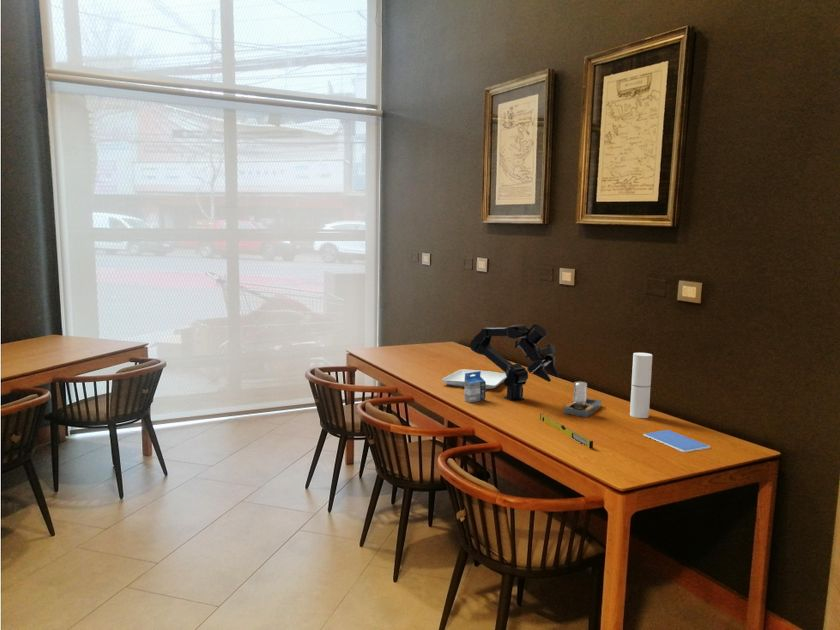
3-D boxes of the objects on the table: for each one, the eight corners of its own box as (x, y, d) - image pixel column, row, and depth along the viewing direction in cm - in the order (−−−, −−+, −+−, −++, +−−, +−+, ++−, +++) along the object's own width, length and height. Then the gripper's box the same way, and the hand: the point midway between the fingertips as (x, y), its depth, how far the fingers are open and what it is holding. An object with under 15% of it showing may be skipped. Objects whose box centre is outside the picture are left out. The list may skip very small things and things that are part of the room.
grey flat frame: (586, 417, 245) (587, 410, 245) (563, 413, 250) (563, 407, 250) (601, 406, 262) (601, 399, 262) (579, 402, 267) (579, 396, 267)
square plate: (512, 380, 308) (512, 373, 307) (495, 393, 283) (495, 384, 282) (460, 375, 319) (461, 367, 318) (440, 386, 294) (440, 378, 294)
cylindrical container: (636, 418, 244) (640, 356, 241) (626, 413, 251) (629, 352, 248) (652, 417, 246) (656, 355, 243) (641, 412, 253) (645, 352, 250)
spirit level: (539, 421, 241) (540, 413, 240) (542, 421, 241) (543, 413, 241) (589, 449, 209) (589, 441, 209) (592, 449, 210) (593, 440, 209)
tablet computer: (711, 449, 212) (711, 445, 211) (684, 454, 206) (684, 450, 206) (668, 432, 229) (668, 429, 229) (641, 437, 224) (642, 433, 224)
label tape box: (469, 403, 264) (470, 374, 263) (463, 401, 268) (464, 373, 266) (485, 400, 269) (486, 372, 268) (479, 398, 273) (480, 370, 271)
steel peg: (579, 414, 249) (580, 385, 247) (570, 411, 253) (571, 382, 251) (588, 412, 251) (589, 383, 249) (579, 409, 255) (580, 381, 254)
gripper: (535, 341, 252) (560, 371, 248) (552, 335, 267) (575, 363, 263) (516, 357, 257) (540, 387, 253) (534, 350, 273) (556, 379, 268)
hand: (554, 379), depth 259 cm, fingers open, 9 cm apart
